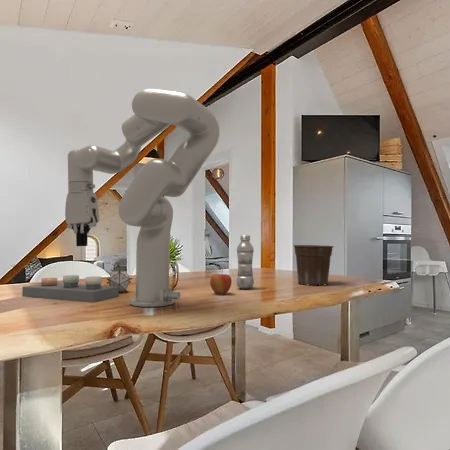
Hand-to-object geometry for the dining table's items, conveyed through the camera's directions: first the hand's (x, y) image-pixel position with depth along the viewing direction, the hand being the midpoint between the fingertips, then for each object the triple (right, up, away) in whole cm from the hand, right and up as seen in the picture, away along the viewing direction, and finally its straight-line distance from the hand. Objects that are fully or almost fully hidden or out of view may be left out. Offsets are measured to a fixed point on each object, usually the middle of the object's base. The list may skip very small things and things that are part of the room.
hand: (82, 245), depth 118 cm
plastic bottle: (+53, -17, +20) cm, 60 cm away
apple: (+44, -17, +8) cm, 48 cm away
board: (-4, -16, +1) cm, 17 cm away
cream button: (+4, -14, -2) cm, 15 cm away
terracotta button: (-13, -16, +4) cm, 20 cm away
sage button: (-4, -14, +1) cm, 15 cm away
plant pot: (+83, -18, +36) cm, 92 cm away
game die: (+9, -17, +10) cm, 22 cm away
